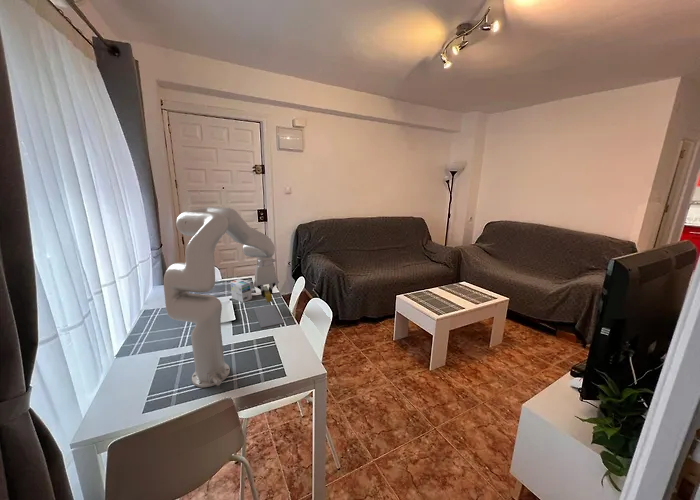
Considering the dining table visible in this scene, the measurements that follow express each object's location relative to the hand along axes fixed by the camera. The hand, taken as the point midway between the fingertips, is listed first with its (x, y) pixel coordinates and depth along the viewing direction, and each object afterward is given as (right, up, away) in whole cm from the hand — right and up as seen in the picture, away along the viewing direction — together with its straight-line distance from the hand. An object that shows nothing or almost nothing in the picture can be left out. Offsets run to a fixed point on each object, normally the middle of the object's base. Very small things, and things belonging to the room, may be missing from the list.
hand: (266, 296), depth 144 cm
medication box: (0, -1, 0) cm, 1 cm away
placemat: (0, -11, +3) cm, 11 cm away
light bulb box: (-22, -6, +23) cm, 32 cm away
